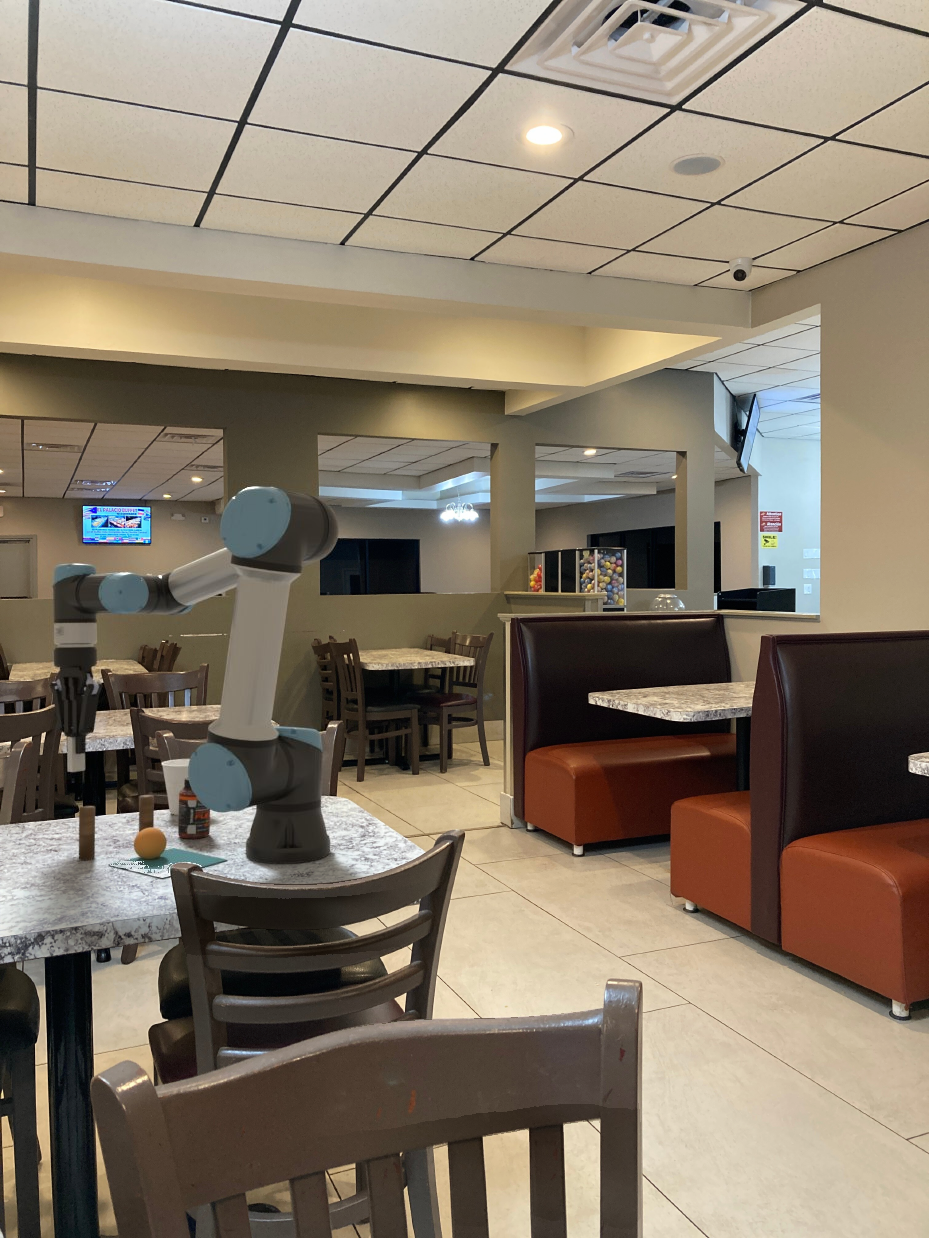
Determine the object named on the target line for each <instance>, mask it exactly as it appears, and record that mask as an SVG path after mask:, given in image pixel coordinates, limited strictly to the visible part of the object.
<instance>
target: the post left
mask: <svg viewBox="0 0 929 1238" xmlns="http://www.w3.org/2000/svg"><path fill="white" fill-rule="evenodd" d="M78 808H79V809H78V810H79V812H78V817H79V818H78V860H79V861H91V859H92V860H94V859H95V857H96V855H95V853H96V852H95V849H96V847H95V846H96V806H95V805H84V806H80V807H78Z"/></svg>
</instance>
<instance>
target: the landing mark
mask: <svg viewBox="0 0 929 1238" xmlns="http://www.w3.org/2000/svg"><path fill="white" fill-rule="evenodd" d="M129 859H130V860H129ZM129 859H125V860H123V861H133V862H134V861H135V862H136V861H142V863H141V862H140V863H139V862H138V865H139V864H140V865H146V866H145V867H144V869H150V871H149V870H148V872H147V873H152V872H151V869H162V866H163V869H164V865H168V864H170V863H172V864H175V863H178V862H191V863H196V864H199V865H201V866H202V867H203V869H204V868H206V867H207V868H208V867H210V866H215V865H217V864H221V863H225V862H227V861H228V859H225V858H221V857H217V856H212V855H207V854H202V853H198V852H194V851H189V850H184V849H181V848H177V847H176V848H175V847H173V848H169V849H165V850H164V852H163V853H162V854H161V855H160V856H159V857H157V858H155V859H143V858H141V857H140V856H137V857H132V858H129ZM143 861H144V862H143ZM118 862H119V861H117V863H118ZM117 863H116V862H113V865H114V864H115V865H118V864H119V863H118V864H117ZM143 863H144V864H143ZM110 864H111V865H112V863H109V864H108V865H110ZM120 864H121V863H120ZM133 864H134V863H133ZM133 864H132V863H131V865H133ZM172 864H170V865H169V867H170V866H171V865H172ZM121 865H126V864H125V863H124V864H123V863H122V864H121ZM127 865H128V864H127ZM129 865H130V864H129ZM134 865H135V864H134ZM136 865H137V864H136ZM147 865H148V866H149V868H148V866H147ZM158 866H159V867H158ZM169 867H168V868H167V869H168V873H169ZM124 869H126V868H124ZM124 869H123V870H124ZM130 869H132V867H131V868H130ZM138 869H139V868H138ZM140 869H143V867H142V868H140ZM144 873H145V872H144ZM154 873H155V870H154ZM158 873H159V872H158Z"/></svg>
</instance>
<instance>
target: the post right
mask: <svg viewBox="0 0 929 1238" xmlns="http://www.w3.org/2000/svg"><path fill="white" fill-rule="evenodd" d="M138 806H139V807H138V808H139V809H138V833H139V832H140V831H142V830H143V829H146V828H155V827H154V825H155V824H154V823H155V821H154V820H155V817H154V815H155V809H154V807H155V795H153V794H144V795H140V796H139V797H138Z"/></svg>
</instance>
